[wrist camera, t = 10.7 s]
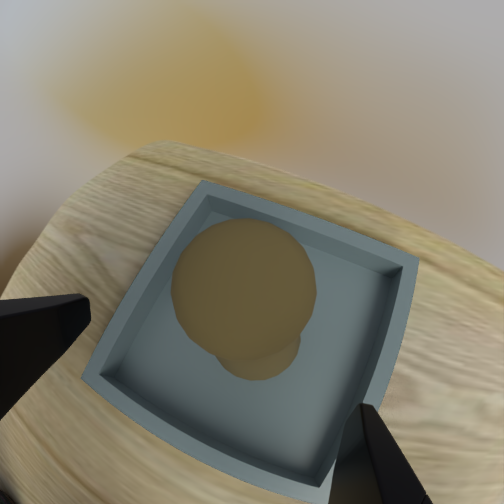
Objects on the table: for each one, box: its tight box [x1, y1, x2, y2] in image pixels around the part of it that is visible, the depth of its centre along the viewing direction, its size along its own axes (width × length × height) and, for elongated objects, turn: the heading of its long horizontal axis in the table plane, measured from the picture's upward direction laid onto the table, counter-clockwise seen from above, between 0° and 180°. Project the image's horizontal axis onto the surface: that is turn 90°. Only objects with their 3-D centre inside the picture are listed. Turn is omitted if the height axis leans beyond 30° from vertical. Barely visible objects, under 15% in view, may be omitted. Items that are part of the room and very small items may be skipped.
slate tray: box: [81, 180, 419, 504], centre depth 18 cm, size 18×18×3 cm
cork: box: [170, 218, 317, 381], centre depth 13 cm, size 6×6×11 cm
